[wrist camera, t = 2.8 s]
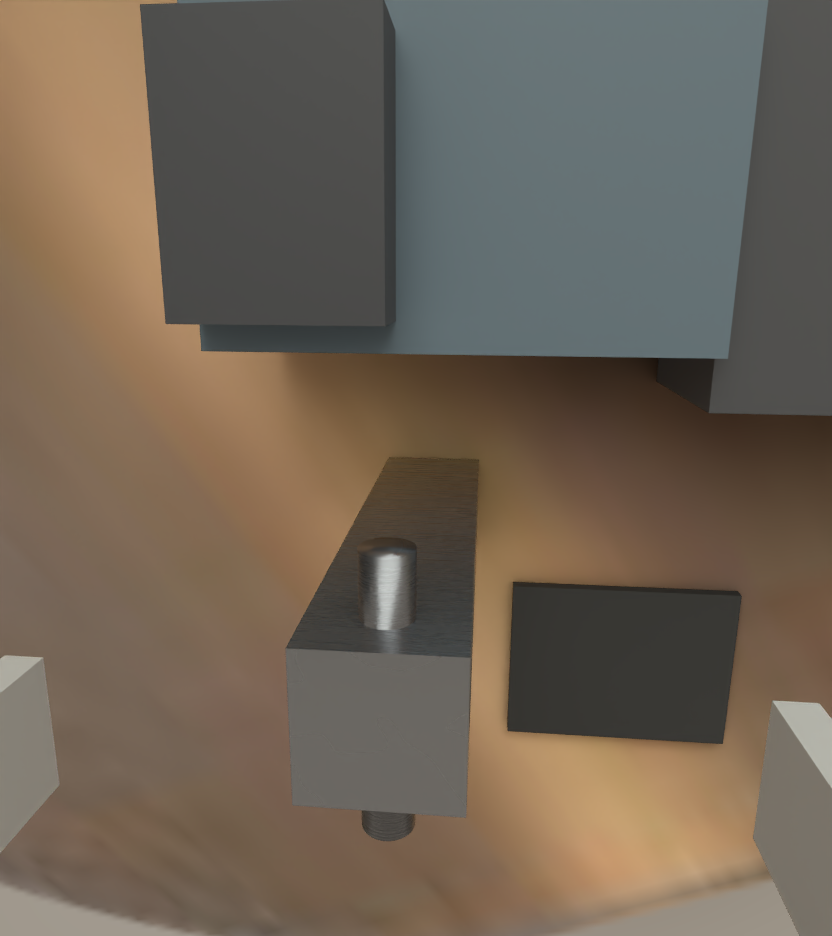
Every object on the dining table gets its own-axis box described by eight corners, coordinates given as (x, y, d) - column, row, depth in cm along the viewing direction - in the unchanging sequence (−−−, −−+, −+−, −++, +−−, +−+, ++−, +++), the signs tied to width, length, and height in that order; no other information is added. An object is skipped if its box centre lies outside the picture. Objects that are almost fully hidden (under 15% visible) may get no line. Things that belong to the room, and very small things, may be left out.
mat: (507, 724, 28) (507, 731, 28) (513, 582, 27) (513, 586, 26) (719, 737, 28) (722, 743, 27) (738, 591, 26) (741, 596, 26)
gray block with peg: (389, 576, 27) (295, 868, 14) (388, 418, 26) (281, 573, 12) (475, 580, 27) (464, 881, 14) (479, 420, 25) (472, 581, 12)
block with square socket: (279, 374, 26) (173, 423, 17) (264, 25, 23) (129, -128, 14) (1104, 389, 23) (1470, 455, 15) (1199, 0, 21) (1720, -201, 12)
